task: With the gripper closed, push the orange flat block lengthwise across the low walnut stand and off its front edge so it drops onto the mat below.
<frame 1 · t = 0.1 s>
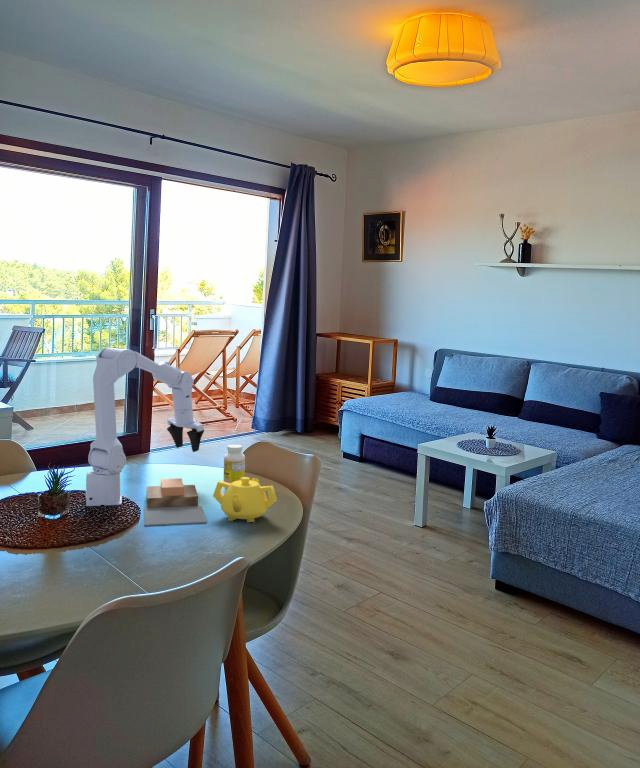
hand: (187, 448, 222), 10 cm above the table, tool pointing down, fingers open, 7 cm apart
mat: (174, 516, 188), on the table
supplement bottle: (233, 486, 219), on the table
orange flat block: (171, 491, 200), point 3 cm above the table, touching stand
stand: (171, 501, 201), on the table
teapot: (244, 518, 189), on the table
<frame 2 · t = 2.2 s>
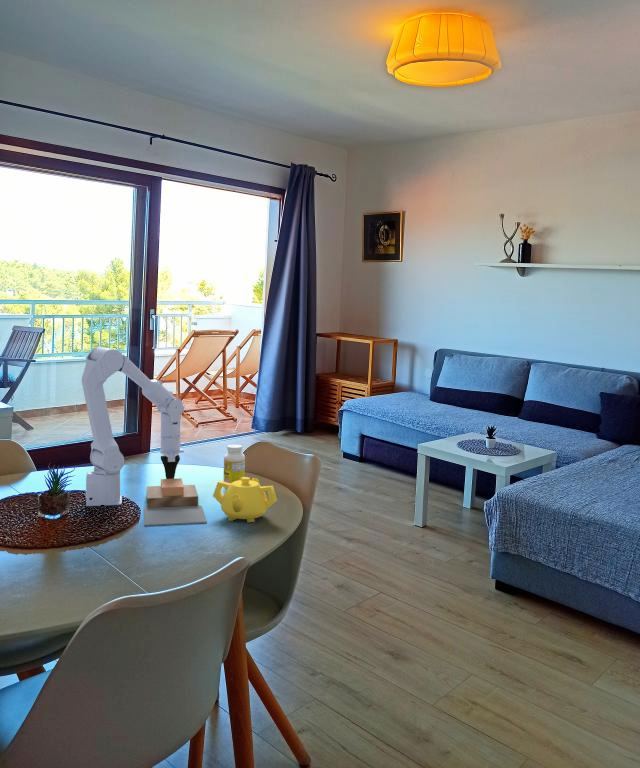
hand: (170, 479, 211), 4 cm above the table, tool pointing down, fingers closed
nothing on the table moved.
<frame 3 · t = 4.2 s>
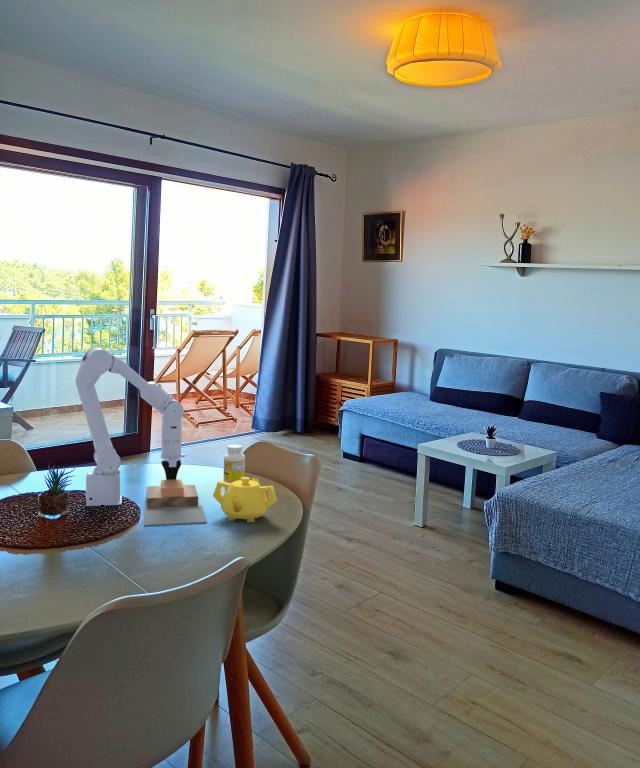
hand: (171, 484, 205), 4 cm above the table, tool pointing down, fingers closed
orange flat block: (172, 492, 199), point 3 cm above the table, touching gripper, stand
everything else where it was.
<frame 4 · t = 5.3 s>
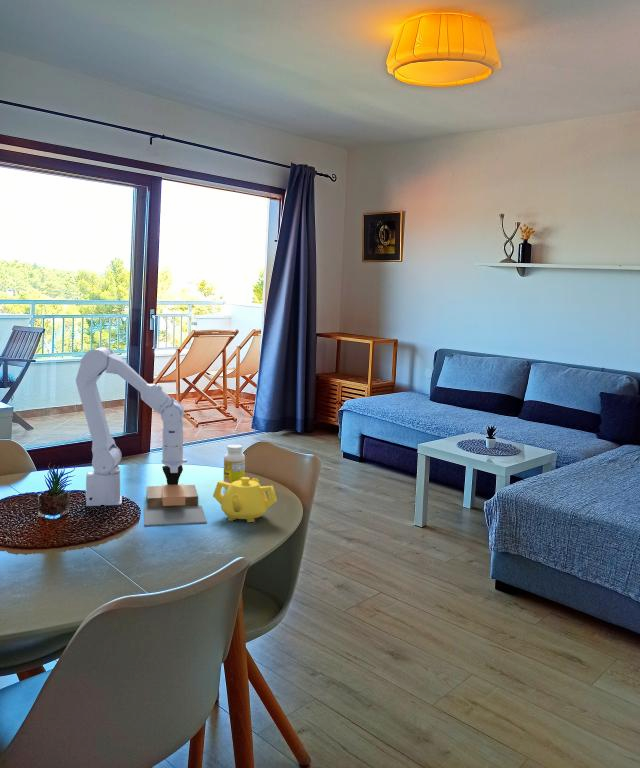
hand: (172, 491, 199), 4 cm above the table, tool pointing down, fingers closed
orange flat block: (173, 499, 193), point 3 cm above the table, tilted 6°, touching stand
everything else where it was.
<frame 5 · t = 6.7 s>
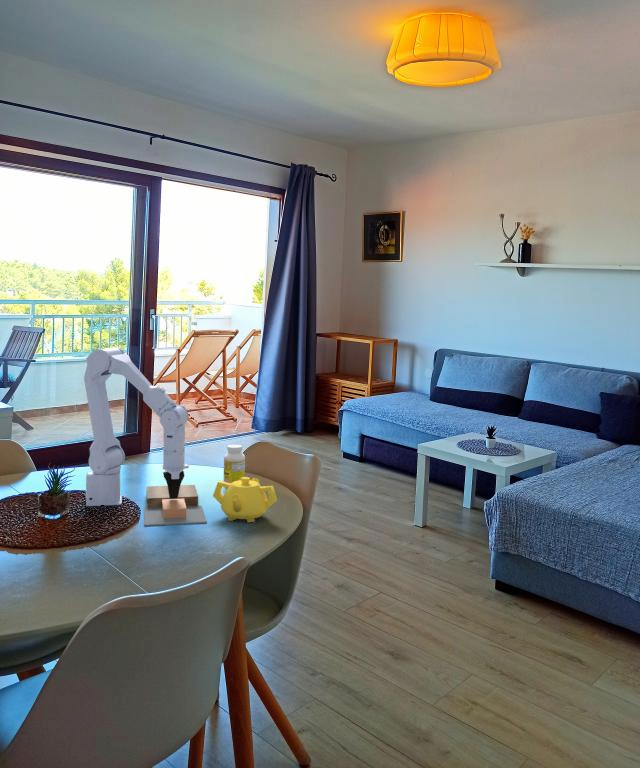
hand: (173, 497, 193), 4 cm above the table, tool pointing down, fingers closed
orange flat block: (173, 512, 189), resting on mat
everything else where it was.
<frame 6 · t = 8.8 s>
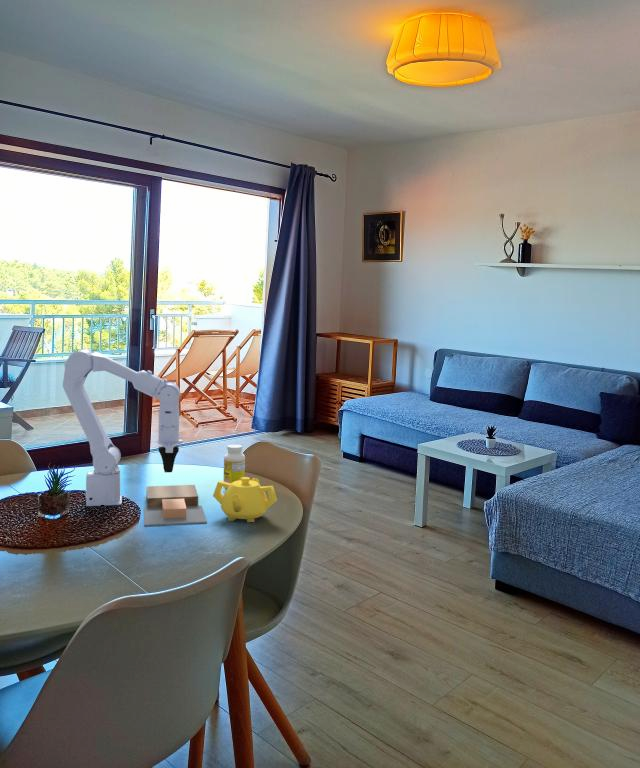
hand: (168, 471, 199), 9 cm above the table, tool pointing down, fingers closed
nothing on the table moved.
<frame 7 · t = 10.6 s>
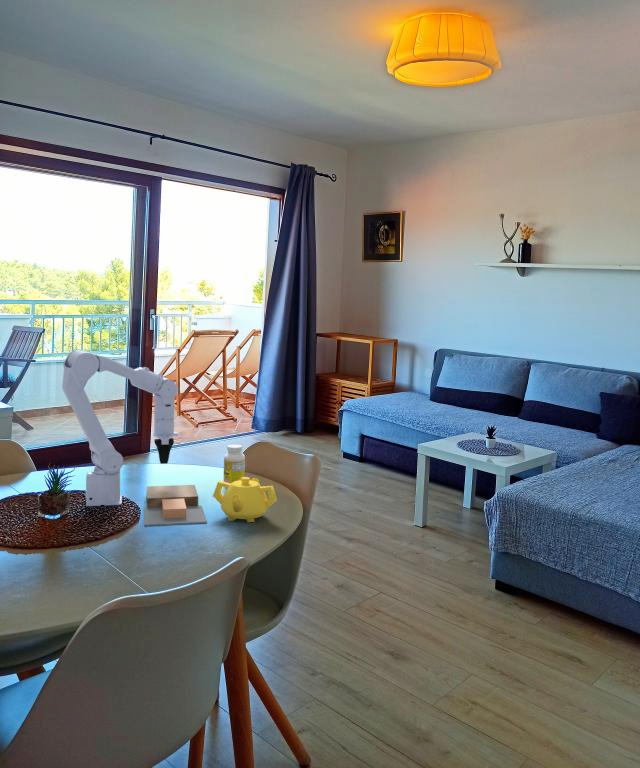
hand: (163, 463, 207), 9 cm above the table, tool pointing down, fingers closed
nothing on the table moved.
at the end: orange flat block inside the target area (1.8 cm from its centre), resting on mat; orange flat block touching mat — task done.
